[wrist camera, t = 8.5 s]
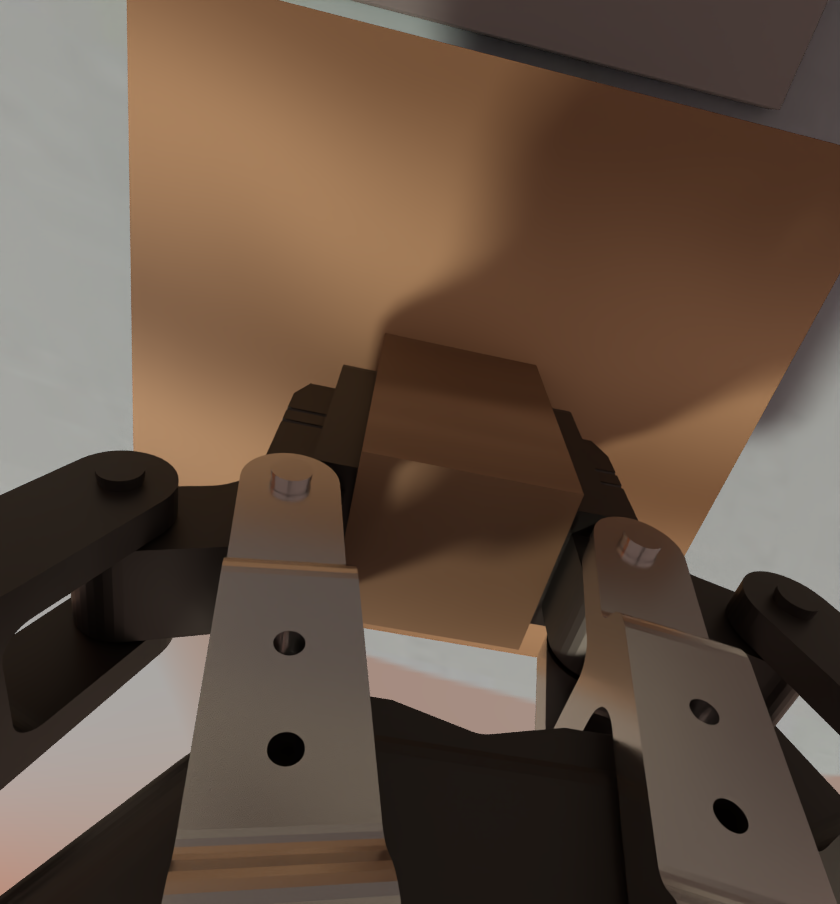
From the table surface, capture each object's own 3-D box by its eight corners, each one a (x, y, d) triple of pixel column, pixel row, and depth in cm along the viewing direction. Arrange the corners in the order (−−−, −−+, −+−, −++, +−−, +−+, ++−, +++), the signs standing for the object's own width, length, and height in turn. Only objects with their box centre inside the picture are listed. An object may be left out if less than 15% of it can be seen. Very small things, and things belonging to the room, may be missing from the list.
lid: (147, -31, 10) (-99, -131, 5) (872, 156, 11) (1184, 204, 6) (148, 567, 16) (34, 759, 12) (613, 648, 17) (678, 851, 13)
